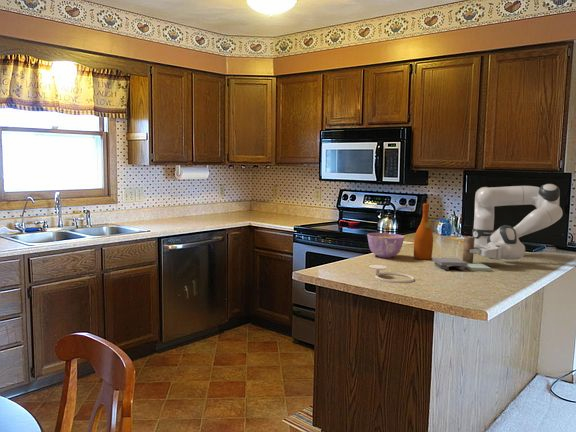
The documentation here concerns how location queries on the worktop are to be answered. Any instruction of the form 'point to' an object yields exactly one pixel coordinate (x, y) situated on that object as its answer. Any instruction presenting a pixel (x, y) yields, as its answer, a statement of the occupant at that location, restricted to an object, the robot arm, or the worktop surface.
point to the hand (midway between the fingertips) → (466, 249)
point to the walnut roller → (468, 245)
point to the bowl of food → (385, 244)
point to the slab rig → (450, 263)
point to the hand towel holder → (381, 267)
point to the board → (478, 267)
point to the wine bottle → (423, 237)
